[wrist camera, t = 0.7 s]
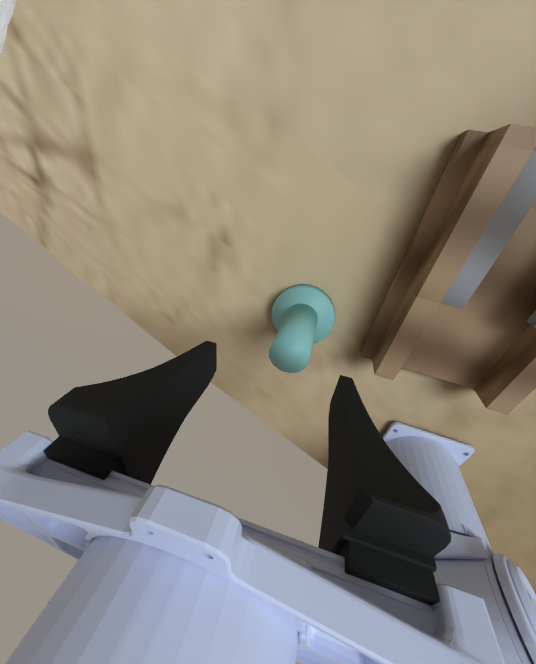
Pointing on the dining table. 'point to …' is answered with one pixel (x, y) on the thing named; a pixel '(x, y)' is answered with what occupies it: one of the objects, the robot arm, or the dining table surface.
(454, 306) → the rail
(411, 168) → the dining table surface
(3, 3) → the cloth
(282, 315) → the teal flanged knob
